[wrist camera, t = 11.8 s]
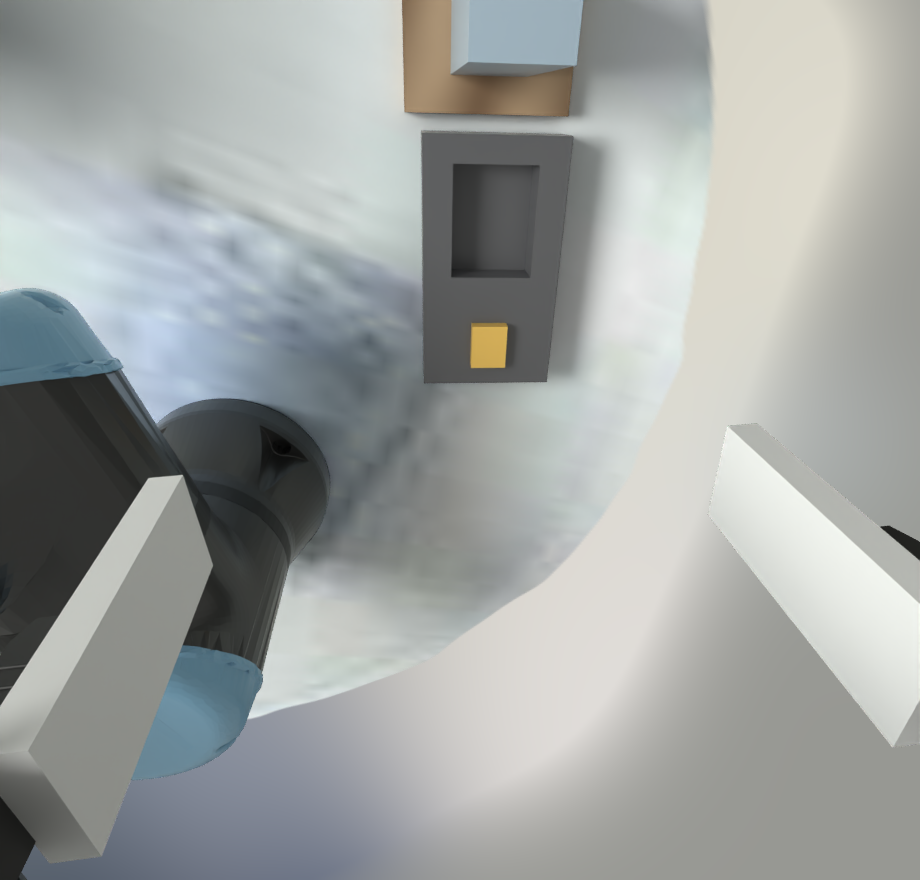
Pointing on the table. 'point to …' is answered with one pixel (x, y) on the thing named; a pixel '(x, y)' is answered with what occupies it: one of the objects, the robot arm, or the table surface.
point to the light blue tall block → (514, 36)
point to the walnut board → (468, 93)
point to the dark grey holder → (491, 253)
